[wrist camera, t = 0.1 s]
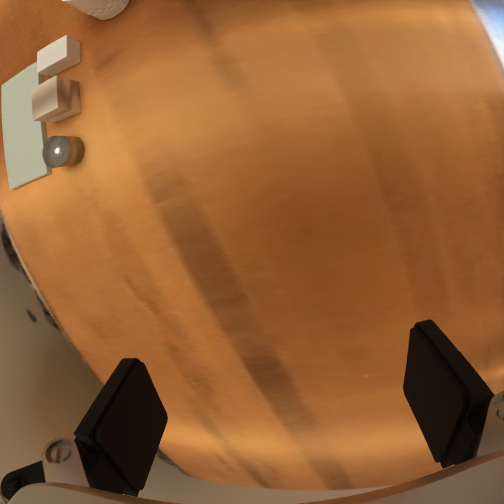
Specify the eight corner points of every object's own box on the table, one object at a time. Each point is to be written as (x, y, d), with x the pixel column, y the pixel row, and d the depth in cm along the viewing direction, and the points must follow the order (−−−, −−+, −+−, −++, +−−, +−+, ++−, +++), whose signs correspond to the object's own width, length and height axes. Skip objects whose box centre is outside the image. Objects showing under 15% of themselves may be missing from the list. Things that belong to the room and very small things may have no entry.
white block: (51, 56, 33) (37, 51, 30) (80, 41, 33) (66, 34, 29) (52, 77, 35) (37, 73, 31) (80, 62, 34) (66, 56, 30)
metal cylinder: (60, 141, 38) (40, 141, 33) (82, 132, 37) (62, 131, 32) (64, 169, 39) (44, 171, 34) (86, 161, 38) (67, 162, 34)
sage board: (5, 86, 34) (1, 85, 33) (42, 61, 33) (38, 60, 32) (14, 189, 40) (10, 190, 39) (51, 172, 39) (47, 173, 38)
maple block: (54, 94, 35) (31, 89, 30) (79, 82, 35) (56, 75, 29) (57, 122, 37) (32, 120, 31) (81, 111, 36) (58, 107, 31)
